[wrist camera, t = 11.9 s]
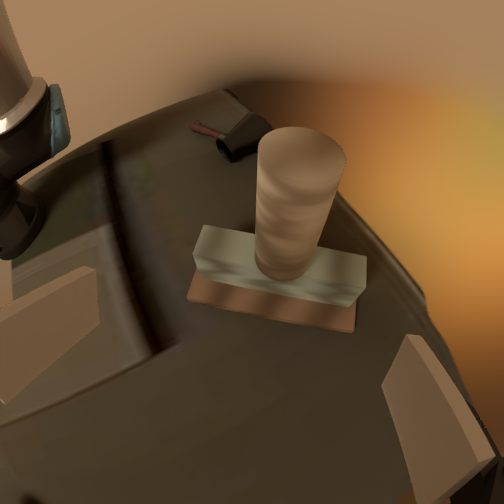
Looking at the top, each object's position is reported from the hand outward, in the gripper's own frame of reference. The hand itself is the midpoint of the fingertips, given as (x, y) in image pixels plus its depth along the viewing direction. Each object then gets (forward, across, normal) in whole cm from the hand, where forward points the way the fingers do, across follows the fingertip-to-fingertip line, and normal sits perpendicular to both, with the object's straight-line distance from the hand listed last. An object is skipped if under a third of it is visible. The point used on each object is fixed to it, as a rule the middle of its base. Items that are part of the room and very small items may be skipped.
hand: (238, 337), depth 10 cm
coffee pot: (+45, -13, +12) cm, 49 cm away
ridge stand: (+25, +2, -7) cm, 26 cm away
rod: (+20, +2, -2) cm, 20 cm away
